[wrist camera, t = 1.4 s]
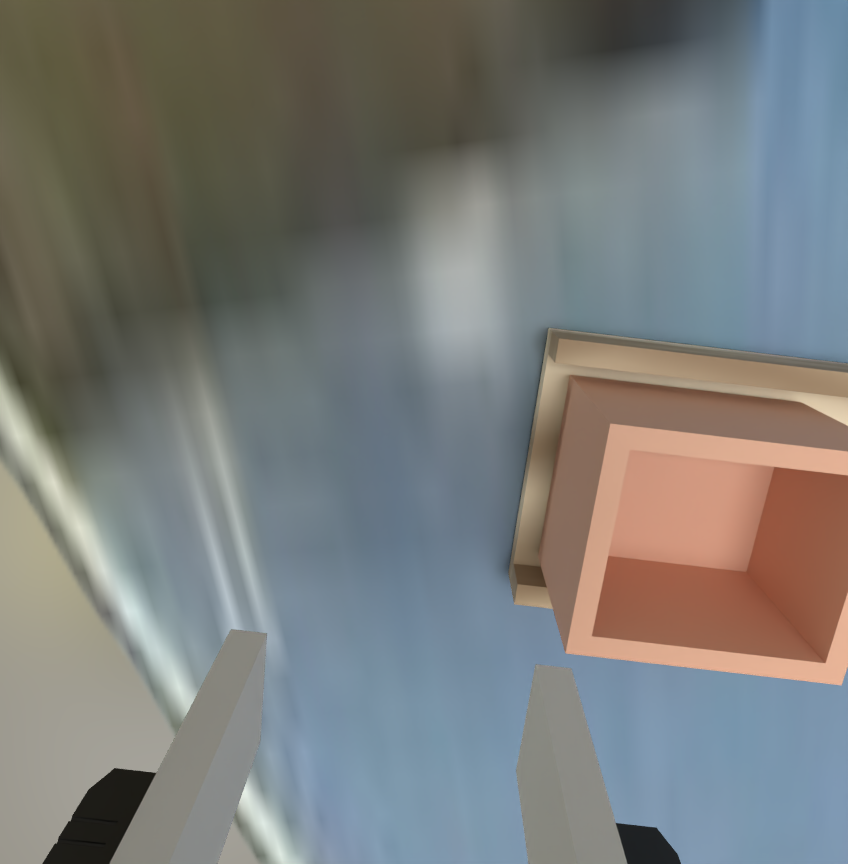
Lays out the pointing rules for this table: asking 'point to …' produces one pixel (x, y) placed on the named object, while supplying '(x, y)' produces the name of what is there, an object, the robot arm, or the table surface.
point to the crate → (699, 531)
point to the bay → (659, 365)
